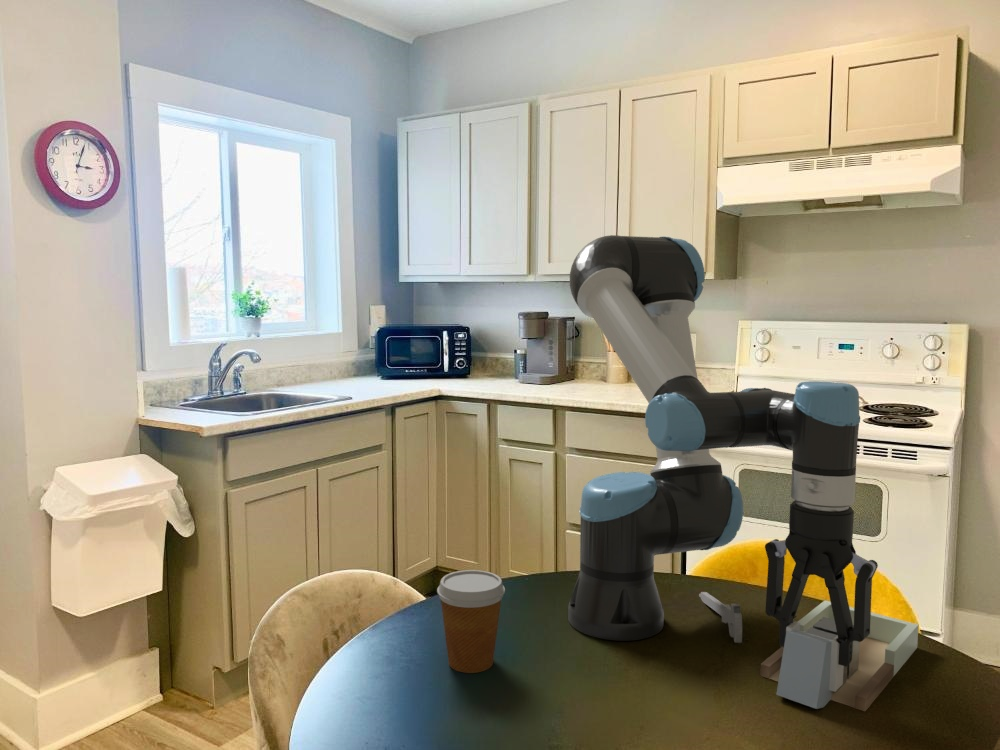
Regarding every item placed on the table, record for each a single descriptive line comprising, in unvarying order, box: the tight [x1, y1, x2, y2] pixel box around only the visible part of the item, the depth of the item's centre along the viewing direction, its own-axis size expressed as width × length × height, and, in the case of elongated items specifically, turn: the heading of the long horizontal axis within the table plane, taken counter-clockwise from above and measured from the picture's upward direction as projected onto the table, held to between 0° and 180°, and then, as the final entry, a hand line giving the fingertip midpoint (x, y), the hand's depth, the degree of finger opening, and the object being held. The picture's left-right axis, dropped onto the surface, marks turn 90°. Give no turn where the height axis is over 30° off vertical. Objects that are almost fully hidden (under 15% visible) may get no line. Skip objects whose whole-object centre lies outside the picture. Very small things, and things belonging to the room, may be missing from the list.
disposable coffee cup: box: [436, 569, 506, 674], centre depth 107 cm, size 10×10×12 cm
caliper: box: [698, 591, 743, 644], centre depth 123 cm, size 20×1×6 cm, turn 0°
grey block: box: [775, 631, 832, 710], centre depth 97 cm, size 5×5×8 cm
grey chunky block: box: [813, 617, 860, 679], centre depth 105 cm, size 5×4×6 cm
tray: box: [797, 599, 919, 678], centre depth 112 cm, size 13×12×4 cm
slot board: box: [759, 637, 918, 712], centre depth 108 cm, size 13×24×2 cm, turn 138°
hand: (813, 679), depth 99 cm, fingers closed on grey block, 5 cm apart
